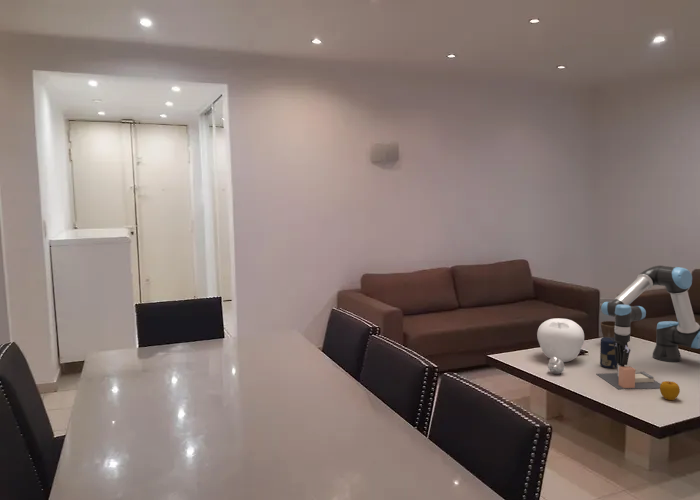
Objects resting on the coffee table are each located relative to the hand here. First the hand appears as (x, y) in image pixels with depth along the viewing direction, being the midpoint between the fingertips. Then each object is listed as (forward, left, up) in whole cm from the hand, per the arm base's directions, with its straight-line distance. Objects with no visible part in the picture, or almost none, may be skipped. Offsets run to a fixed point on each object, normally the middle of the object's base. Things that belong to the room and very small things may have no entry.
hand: (620, 376), depth 281 cm
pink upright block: (0, +6, -4) cm, 7 cm away
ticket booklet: (-11, -3, -4) cm, 12 cm away
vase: (+15, -43, -4) cm, 46 cm away
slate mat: (-7, -3, -4) cm, 9 cm away
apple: (-12, +23, -4) cm, 26 cm away
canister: (-8, -28, -4) cm, 30 cm away
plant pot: (-31, -68, -4) cm, 75 cm away
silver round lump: (+28, -18, -4) cm, 34 cm away
